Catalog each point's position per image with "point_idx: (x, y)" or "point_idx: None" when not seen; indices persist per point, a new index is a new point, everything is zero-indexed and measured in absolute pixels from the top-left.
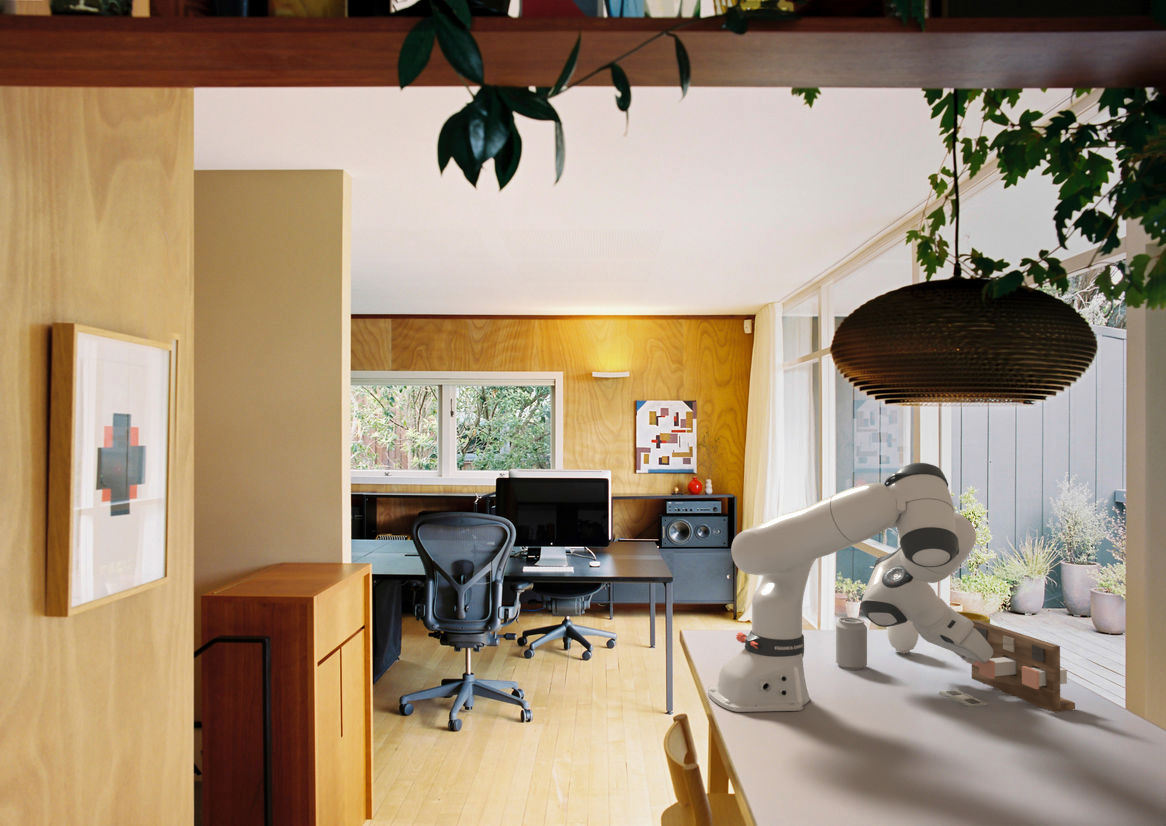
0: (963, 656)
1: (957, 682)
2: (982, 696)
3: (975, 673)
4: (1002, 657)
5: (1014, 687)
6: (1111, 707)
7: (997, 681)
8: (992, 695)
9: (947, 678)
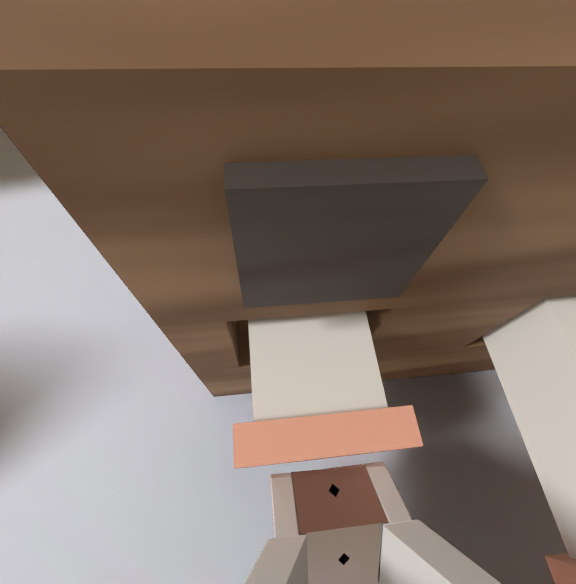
0: (321, 580)
1: (256, 543)
2: (505, 561)
3: (238, 387)
4: (561, 324)
5: None
6: None
7: (397, 371)
8: (480, 479)
9: (173, 561)
